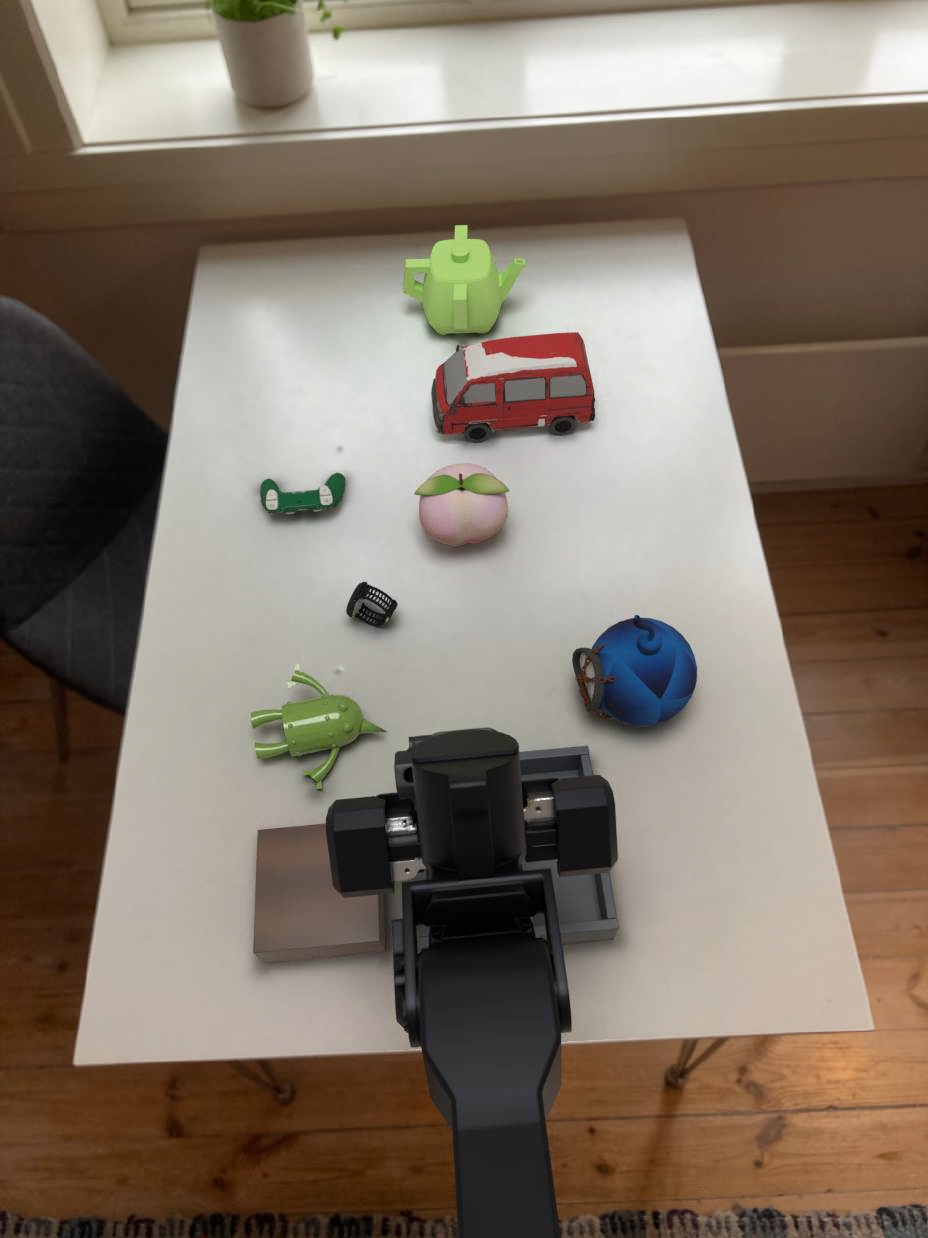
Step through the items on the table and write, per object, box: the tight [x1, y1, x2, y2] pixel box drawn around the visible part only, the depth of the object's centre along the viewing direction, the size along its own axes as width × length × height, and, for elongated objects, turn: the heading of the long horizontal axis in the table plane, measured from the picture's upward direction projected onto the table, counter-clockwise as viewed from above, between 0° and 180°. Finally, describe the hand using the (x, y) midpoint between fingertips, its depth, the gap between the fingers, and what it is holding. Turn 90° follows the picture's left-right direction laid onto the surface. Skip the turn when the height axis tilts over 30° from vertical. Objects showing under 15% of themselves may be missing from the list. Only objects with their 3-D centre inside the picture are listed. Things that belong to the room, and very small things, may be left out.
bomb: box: [571, 614, 698, 728], centre depth 80 cm, size 10×11×15 cm
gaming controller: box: [259, 472, 346, 515], centre depth 98 cm, size 9×4×6 cm
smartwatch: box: [345, 581, 399, 628], centre depth 89 cm, size 4×5×5 cm
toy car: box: [430, 331, 596, 444], centre depth 101 cm, size 9×18×10 cm, turn 90°
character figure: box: [250, 663, 388, 790], centre depth 83 cm, size 12×5×12 cm
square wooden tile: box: [252, 823, 386, 964], centre depth 76 cm, size 10×10×4 cm
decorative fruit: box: [413, 462, 510, 547], centre depth 93 cm, size 9×8×10 cm
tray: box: [416, 745, 620, 950], centre depth 77 cm, size 16×16×4 cm
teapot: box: [402, 224, 526, 336], centre depth 111 cm, size 12×12×10 cm
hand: (467, 785), depth 68 cm, fingers closed on puzzle block, 5 cm apart
